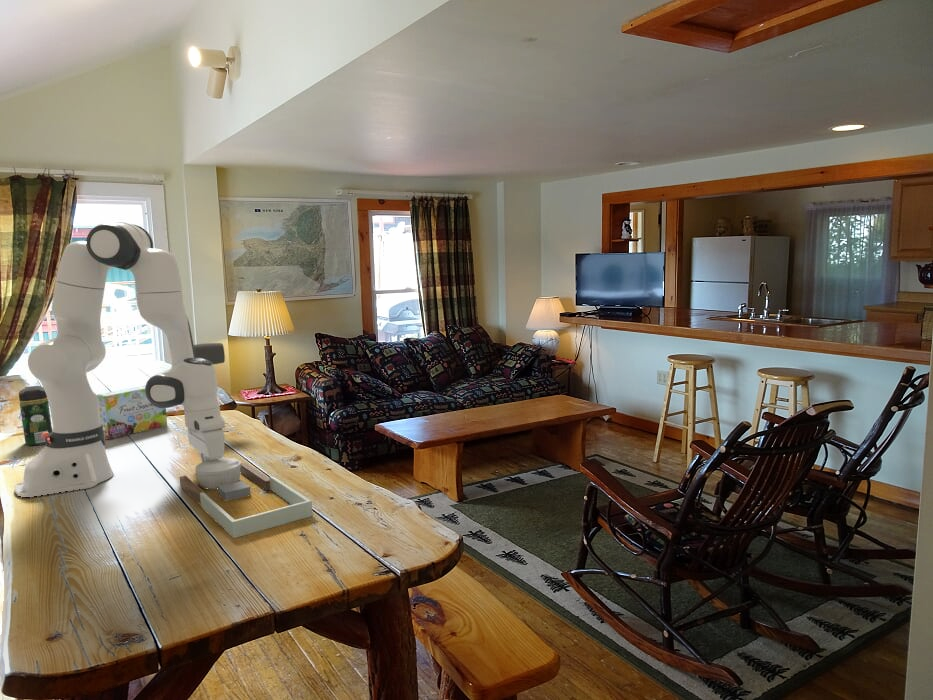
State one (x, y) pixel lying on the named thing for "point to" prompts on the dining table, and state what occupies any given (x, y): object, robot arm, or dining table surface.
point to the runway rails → (244, 469)
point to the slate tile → (234, 490)
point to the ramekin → (218, 472)
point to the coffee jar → (34, 414)
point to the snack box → (129, 412)
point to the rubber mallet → (210, 352)
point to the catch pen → (265, 520)
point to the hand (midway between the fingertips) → (207, 467)
